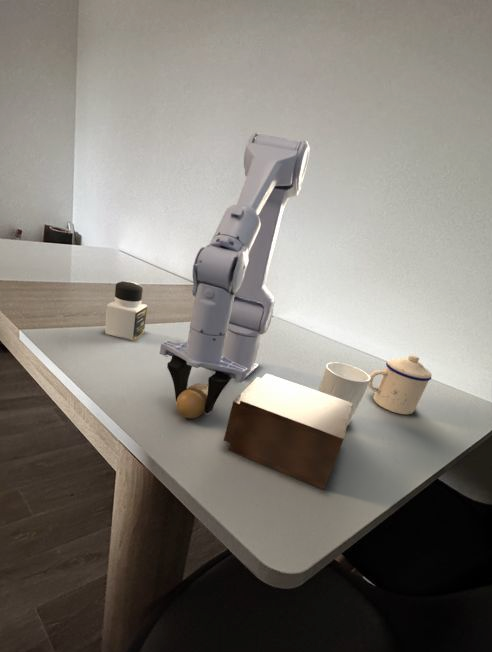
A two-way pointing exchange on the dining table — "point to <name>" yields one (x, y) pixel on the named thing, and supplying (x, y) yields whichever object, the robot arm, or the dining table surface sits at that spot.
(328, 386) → the white cup
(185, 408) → the bread roll
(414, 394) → the teacup with lid
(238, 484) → the dining table surface
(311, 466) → the cabinet
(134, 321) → the medicine bottle
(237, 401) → the drawer
